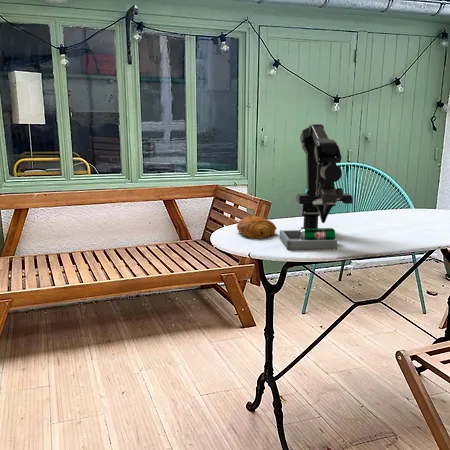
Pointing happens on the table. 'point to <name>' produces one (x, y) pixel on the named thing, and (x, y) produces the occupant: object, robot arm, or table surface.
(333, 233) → the soda can
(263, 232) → the croissant
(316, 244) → the tray
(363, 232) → the table surface
